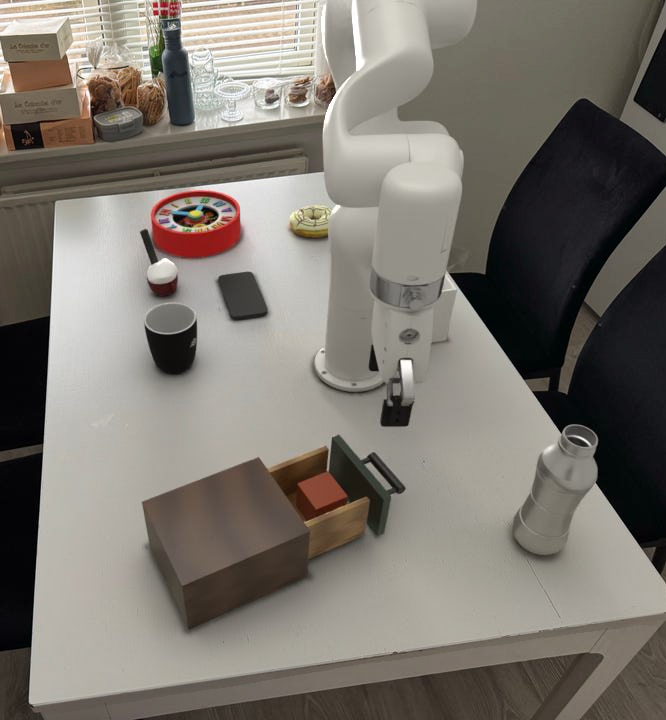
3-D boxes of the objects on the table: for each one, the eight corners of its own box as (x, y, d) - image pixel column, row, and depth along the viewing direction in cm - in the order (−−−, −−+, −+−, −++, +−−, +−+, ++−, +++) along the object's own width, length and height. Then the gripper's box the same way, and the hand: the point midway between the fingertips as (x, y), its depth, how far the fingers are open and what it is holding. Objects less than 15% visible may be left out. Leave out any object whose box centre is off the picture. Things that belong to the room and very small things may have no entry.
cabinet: (259, 502, 98) (258, 456, 92) (307, 576, 89) (310, 531, 82) (149, 546, 94) (141, 501, 88) (188, 629, 84) (181, 586, 78)
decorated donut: (289, 217, 160) (289, 202, 157) (336, 216, 158) (337, 202, 156) (289, 240, 152) (290, 225, 149) (339, 240, 151) (340, 224, 148)
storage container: (446, 340, 123) (457, 289, 115) (386, 348, 122) (393, 297, 115) (397, 265, 142) (404, 218, 134) (344, 272, 141) (349, 225, 134)
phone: (252, 270, 142) (269, 311, 131) (252, 273, 143) (269, 315, 131) (216, 275, 142) (231, 317, 130) (217, 278, 142) (231, 321, 131)
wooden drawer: (362, 460, 102) (367, 422, 97) (413, 520, 93) (422, 483, 88) (239, 509, 96) (238, 473, 91) (281, 579, 88) (283, 542, 83)
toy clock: (226, 238, 143) (137, 228, 149) (227, 262, 147) (140, 252, 152) (250, 194, 157) (167, 187, 163) (250, 216, 161) (170, 209, 167)
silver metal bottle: (548, 517, 93) (594, 412, 80) (571, 560, 88) (624, 456, 75) (500, 520, 93) (539, 416, 80) (520, 564, 88) (565, 460, 75)
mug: (199, 379, 119) (195, 333, 113) (148, 380, 120) (141, 334, 113) (201, 336, 128) (197, 291, 122) (153, 337, 129) (147, 293, 122)
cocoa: (183, 300, 137) (178, 248, 130) (152, 305, 137) (145, 253, 129) (173, 274, 145) (168, 224, 137) (144, 280, 144) (137, 229, 136)
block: (325, 493, 96) (328, 470, 93) (345, 518, 93) (347, 496, 90) (296, 505, 95) (297, 483, 92) (314, 531, 91) (316, 509, 88)
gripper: (462, 330, 66) (433, 449, 77) (425, 237, 79) (405, 350, 91) (382, 331, 67) (365, 449, 78) (359, 239, 80) (347, 351, 91)
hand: (387, 396), depth 84 cm, fingers open, 9 cm apart
